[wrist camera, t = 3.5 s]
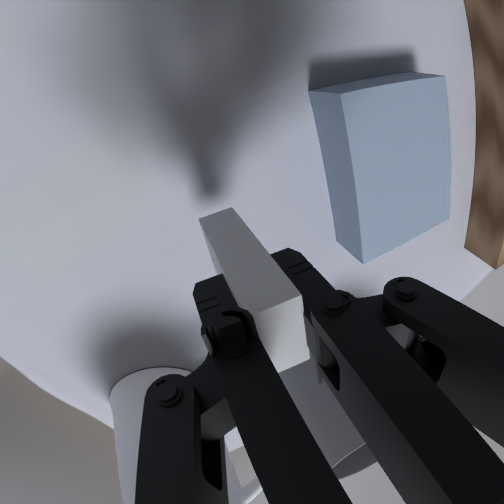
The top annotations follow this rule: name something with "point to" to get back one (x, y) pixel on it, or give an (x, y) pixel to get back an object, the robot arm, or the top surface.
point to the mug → (129, 426)
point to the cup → (327, 420)
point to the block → (385, 158)
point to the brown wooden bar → (488, 131)
